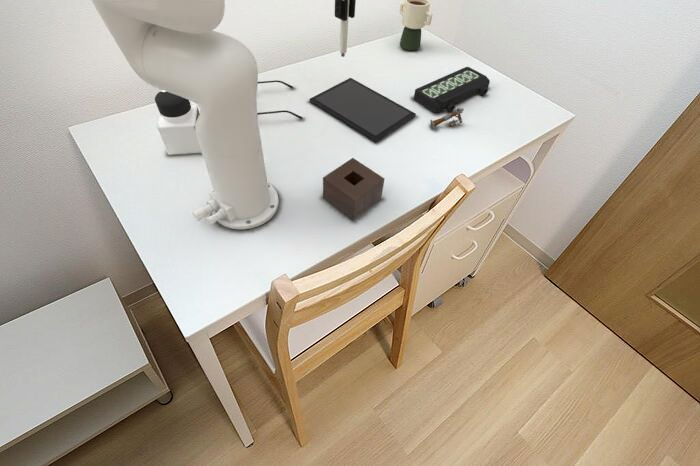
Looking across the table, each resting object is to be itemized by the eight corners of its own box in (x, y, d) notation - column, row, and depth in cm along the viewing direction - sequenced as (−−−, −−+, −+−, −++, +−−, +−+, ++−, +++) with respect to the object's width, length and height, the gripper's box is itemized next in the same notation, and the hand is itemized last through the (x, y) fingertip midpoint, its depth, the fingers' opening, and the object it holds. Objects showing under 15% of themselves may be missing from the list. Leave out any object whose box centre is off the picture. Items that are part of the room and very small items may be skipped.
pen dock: (353, 220, 72) (355, 200, 68) (322, 197, 75) (322, 177, 71) (381, 198, 76) (384, 178, 71) (351, 178, 79) (352, 157, 75)
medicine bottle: (203, 153, 81) (187, 103, 72) (168, 155, 80) (147, 105, 71) (205, 132, 85) (191, 83, 76) (172, 134, 84) (153, 84, 75)
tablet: (375, 143, 86) (376, 139, 86) (309, 102, 95) (309, 98, 94) (415, 116, 94) (416, 113, 93) (350, 80, 102) (350, 77, 102)
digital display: (443, 106, 92) (414, 88, 96) (440, 117, 94) (412, 99, 99) (497, 80, 101) (467, 64, 105) (493, 91, 103) (464, 75, 108)
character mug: (430, 50, 116) (441, 3, 106) (417, 57, 112) (426, 10, 102) (402, 37, 120) (409, -9, 110) (388, 44, 116) (394, -3, 106)
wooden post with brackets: (466, 122, 92) (464, 108, 88) (435, 137, 93) (432, 123, 89) (463, 118, 93) (461, 104, 89) (433, 132, 94) (429, 119, 90)
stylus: (342, 58, 88) (346, -10, 77) (338, 55, 88) (340, -13, 77) (347, 56, 88) (351, -12, 78) (342, 53, 89) (346, -15, 78)
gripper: (333, -83, 62) (331, 33, 76) (393, -94, 70) (381, 13, 84) (302, -93, 65) (305, 21, 79) (363, -103, 73) (356, 3, 87)
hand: (344, 16), depth 82 cm, fingers closed on stylus, 1 cm apart
